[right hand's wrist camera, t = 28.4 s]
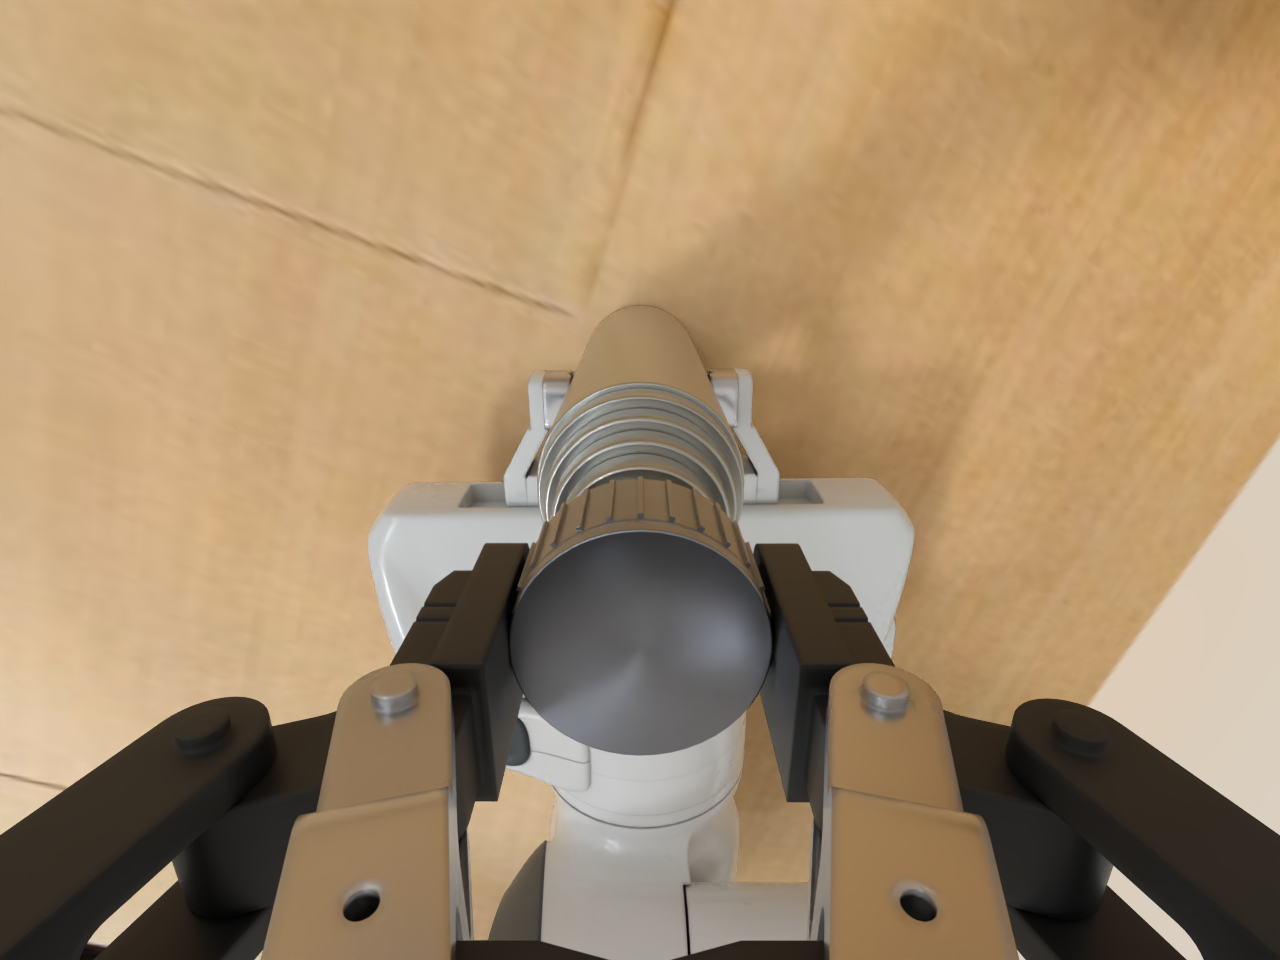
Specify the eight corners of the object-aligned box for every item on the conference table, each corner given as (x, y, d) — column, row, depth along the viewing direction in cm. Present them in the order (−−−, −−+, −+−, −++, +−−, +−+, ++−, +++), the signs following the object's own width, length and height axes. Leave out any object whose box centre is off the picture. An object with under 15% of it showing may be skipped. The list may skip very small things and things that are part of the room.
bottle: (595, 421, 32) (517, 765, 12) (576, 314, 31) (447, 497, 10) (701, 406, 32) (810, 731, 12) (688, 297, 30) (787, 450, 10)
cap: (494, 632, 12) (467, 709, 10) (575, 437, 11) (561, 482, 9) (696, 705, 13) (706, 791, 11) (795, 526, 12) (826, 586, 10)
